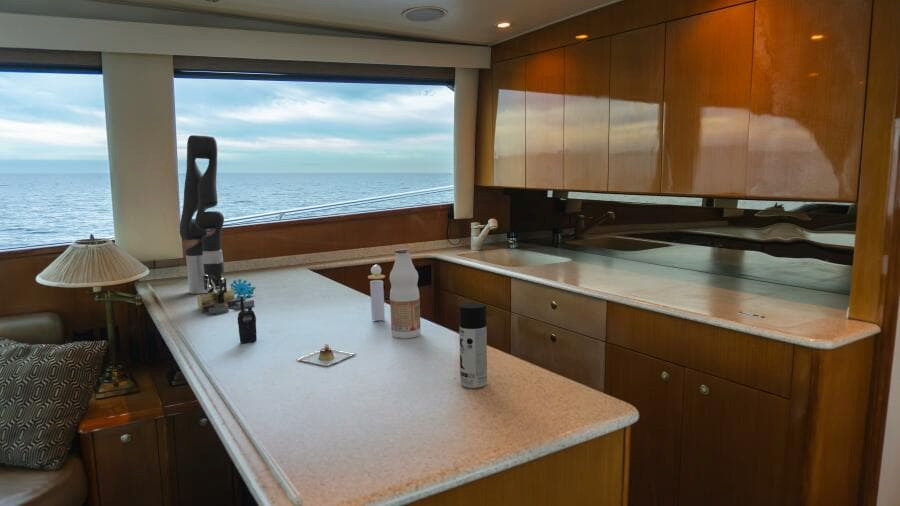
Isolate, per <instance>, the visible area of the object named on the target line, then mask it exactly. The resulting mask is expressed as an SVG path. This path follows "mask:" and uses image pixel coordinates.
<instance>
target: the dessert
mask: <svg viewBox="0 0 900 506" xmlns="http://www.w3.org/2000/svg"><path fill="white" fill-rule="evenodd" d="M334 354H336V355H337V354H338V355H344V356H346V357H344V358H342V359H339V360H337V361H334V362H331V363H329V364H323V363H319V362H313V361H310V360H308V359H310V358H312V357H315V356H318V355H319V356H318V361H323V362H325V361H326V362H327V361H332V360H334V359H335V355H334ZM353 356H356V353H354V352H349V351H343V350H338V349H332V348H331V347H330V346H329V344H327V343H325V344H324V346H323V348H320V349H319V350H316V351H314V352H312V353H309V354H307V355H304V356H301V357H298V358H296V359H295V360H296V361H299V362H303V363H309V364H312V365H317V366H322V367H330V366H332V365H334V364H337V363H339V362H342V361H345V360H347V359H349V358H350V357H353Z"/></svg>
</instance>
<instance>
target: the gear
mask: <svg viewBox="0 0 900 506" xmlns="http://www.w3.org/2000/svg"><path fill="white" fill-rule="evenodd" d="M247 281H248V280H246V279H244V280H243V281H242V279H241V278H238V280H235V279H234V280H233V281H232V282H231V283H230V284H229V286H230V288H229V289H233V290H234V296H235V295H237V296H236V297H237V299H240V297H241V296H242V295H243V298H246V299H247V298H251V297H252V295H253V294H254V292H255V290H256V288H257V286H256V285H255V286H252V283H251V282H248V283H247ZM237 282H238V283H237ZM246 295H247V296H246Z"/></svg>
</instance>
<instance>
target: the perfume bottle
mask: <svg viewBox="0 0 900 506" xmlns="http://www.w3.org/2000/svg"><path fill="white" fill-rule="evenodd" d="M370 273H371V274H370V275H368V276H367V278H368V280H369V279H370V281H369V285H370V286H369V287H370V289H369V290H370V304H371V305H370V306H371V320H373V321H382V320H385V319H386V318H385V317H386V316H385V297H384V296H385V292H386V285H385V284H384V281H383V280H382V279H384V278H386V275H385V274H381V273H382V268H381V266H380V265H379V264H375V265H372V267H371V268H370Z"/></svg>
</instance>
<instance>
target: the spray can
mask: <svg viewBox="0 0 900 506" xmlns="http://www.w3.org/2000/svg"><path fill="white" fill-rule="evenodd" d="M458 311H459V312H458V313H459V315H458V316H459V317H458V318H459V319H458V320H459V323H458V326H459V329H458V330H459V377H460V378H459V381H460V385H461V387H463V388H465V389H469V390H470V389H471V390H477V389H482V388H484V387H485V386H487V384H488V357H487V356H488V347H487V346H488V344H487V343H488V341H487V340H488V337H487V336H488V334H487V327H488V325H487V305H486V304H484V303H479V302H467V303H462V304H460V305H459V309H458Z"/></svg>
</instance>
